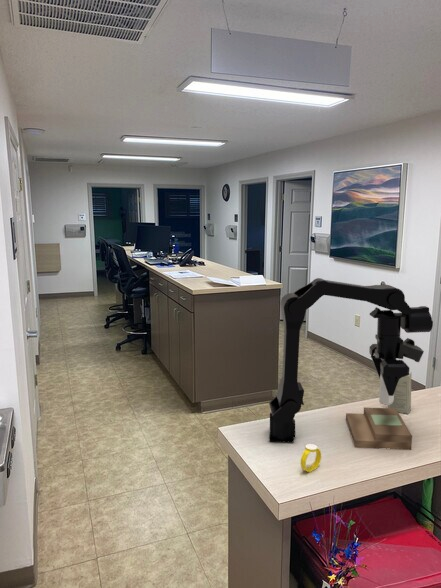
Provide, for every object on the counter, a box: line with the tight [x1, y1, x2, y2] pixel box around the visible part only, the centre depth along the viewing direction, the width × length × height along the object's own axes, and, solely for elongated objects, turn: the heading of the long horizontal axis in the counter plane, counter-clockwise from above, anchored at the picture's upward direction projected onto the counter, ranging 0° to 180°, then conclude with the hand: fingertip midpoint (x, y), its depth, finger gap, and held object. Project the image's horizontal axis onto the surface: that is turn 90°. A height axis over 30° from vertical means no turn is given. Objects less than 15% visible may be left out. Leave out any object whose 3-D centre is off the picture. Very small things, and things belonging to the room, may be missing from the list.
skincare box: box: [387, 371, 412, 415], centre depth 133 cm, size 6×4×12 cm
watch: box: [300, 443, 322, 473], centre depth 104 cm, size 6×3×6 cm, turn 128°
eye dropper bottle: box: [378, 375, 394, 406], centre depth 117 cm, size 4×6×12 cm
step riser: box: [345, 406, 413, 451], centre depth 120 cm, size 14×16×4 cm
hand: (386, 389), depth 117 cm, fingers closed on eye dropper bottle, 8 cm apart
